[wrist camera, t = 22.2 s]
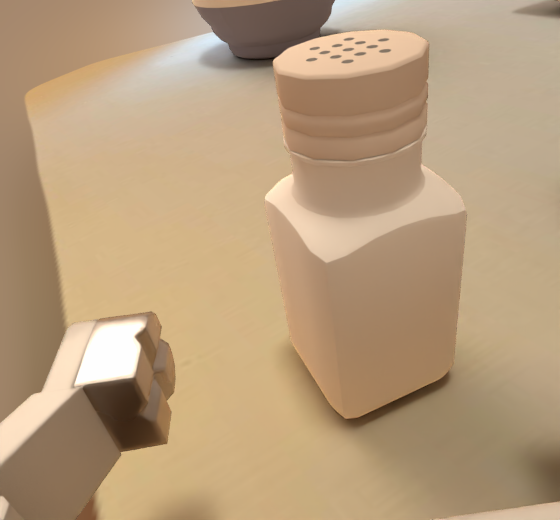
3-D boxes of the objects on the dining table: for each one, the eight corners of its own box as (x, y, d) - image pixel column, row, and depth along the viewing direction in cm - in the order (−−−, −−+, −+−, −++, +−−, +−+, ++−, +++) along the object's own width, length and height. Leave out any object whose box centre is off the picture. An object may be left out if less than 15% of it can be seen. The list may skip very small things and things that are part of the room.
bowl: (375, 42, 45) (372, -54, 41) (226, 82, 43) (205, -18, 38) (312, 21, 57) (304, -57, 52) (191, 50, 54) (172, -29, 49)
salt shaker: (342, 435, 14) (300, 99, 8) (286, 343, 17) (228, 55, 11) (461, 378, 15) (497, 42, 9) (387, 301, 18) (380, 15, 12)
